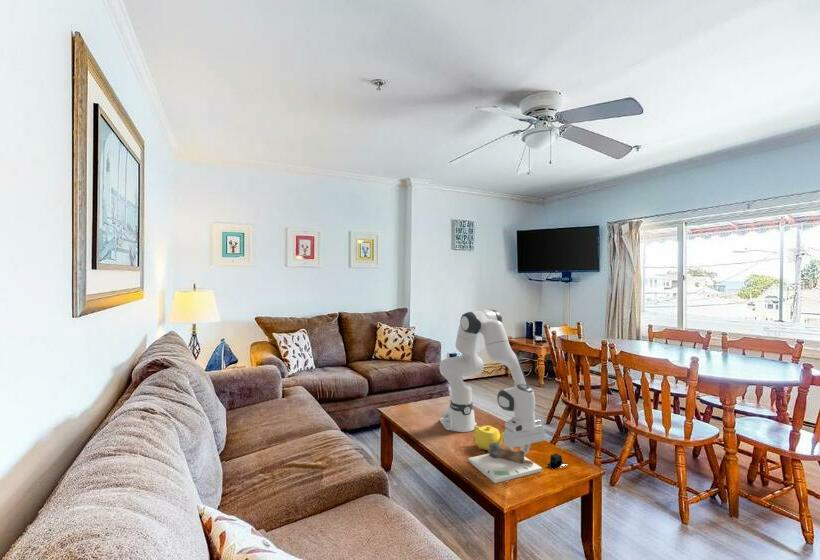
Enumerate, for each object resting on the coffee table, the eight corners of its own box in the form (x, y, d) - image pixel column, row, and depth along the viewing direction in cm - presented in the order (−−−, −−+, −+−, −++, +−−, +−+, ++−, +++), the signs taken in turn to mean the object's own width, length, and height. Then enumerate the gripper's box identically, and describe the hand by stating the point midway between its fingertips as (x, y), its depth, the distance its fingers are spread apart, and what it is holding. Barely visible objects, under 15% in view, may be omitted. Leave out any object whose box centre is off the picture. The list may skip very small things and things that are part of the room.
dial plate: (468, 461, 173) (468, 457, 173) (512, 451, 183) (512, 448, 183) (494, 483, 155) (494, 479, 155) (542, 471, 164) (542, 467, 164)
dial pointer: (487, 455, 174) (487, 445, 174) (491, 451, 179) (491, 441, 179) (531, 467, 164) (531, 456, 164) (534, 462, 168) (534, 451, 168)
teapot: (512, 450, 183) (512, 428, 183) (499, 458, 176) (499, 435, 176) (480, 439, 196) (480, 418, 196) (467, 446, 188) (467, 424, 188)
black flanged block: (559, 459, 176) (559, 449, 176) (572, 465, 170) (572, 455, 170) (539, 465, 170) (539, 455, 170) (553, 472, 164) (553, 462, 164)
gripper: (538, 416, 177) (538, 446, 178) (501, 423, 169) (501, 455, 169) (548, 421, 172) (548, 452, 172) (510, 428, 163) (510, 461, 164)
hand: (524, 453), depth 171 cm, fingers closed
